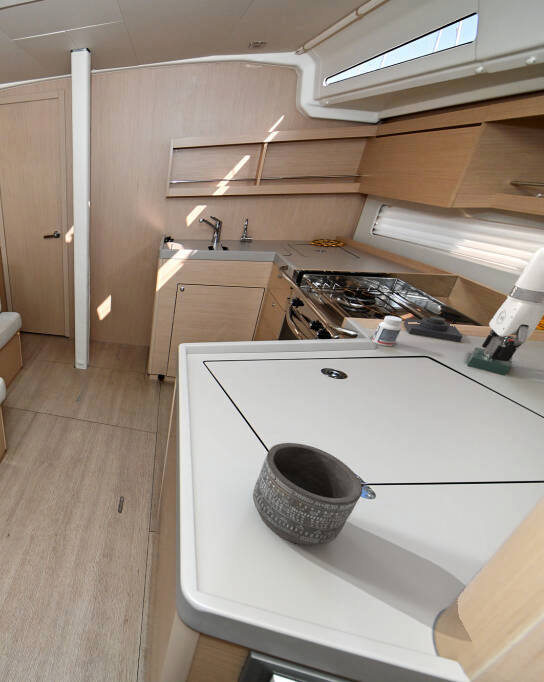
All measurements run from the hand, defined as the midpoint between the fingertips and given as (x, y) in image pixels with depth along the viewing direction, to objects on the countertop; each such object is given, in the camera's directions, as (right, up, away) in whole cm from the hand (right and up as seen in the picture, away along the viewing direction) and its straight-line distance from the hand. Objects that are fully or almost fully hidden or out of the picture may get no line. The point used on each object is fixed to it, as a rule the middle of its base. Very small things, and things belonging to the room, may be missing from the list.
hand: (494, 353), depth 100 cm
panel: (0, -4, +2) cm, 4 cm away
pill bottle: (-17, +3, +16) cm, 23 cm away
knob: (0, -1, 0) cm, 1 cm away
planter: (-88, -28, -39) cm, 100 cm away
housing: (+5, +7, +21) cm, 23 cm away
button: (+5, +10, +19) cm, 22 cm away
